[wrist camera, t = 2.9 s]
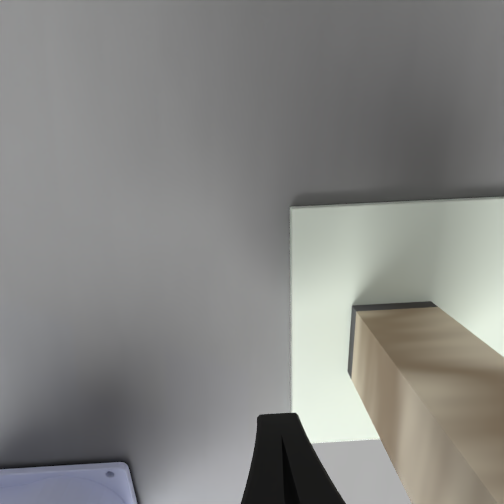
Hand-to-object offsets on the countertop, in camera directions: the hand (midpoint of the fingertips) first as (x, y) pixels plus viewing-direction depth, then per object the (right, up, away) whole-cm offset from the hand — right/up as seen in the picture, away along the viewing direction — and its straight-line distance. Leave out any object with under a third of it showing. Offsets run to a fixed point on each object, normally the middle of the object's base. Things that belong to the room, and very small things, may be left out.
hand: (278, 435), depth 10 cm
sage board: (+9, +2, +6) cm, 11 cm away
